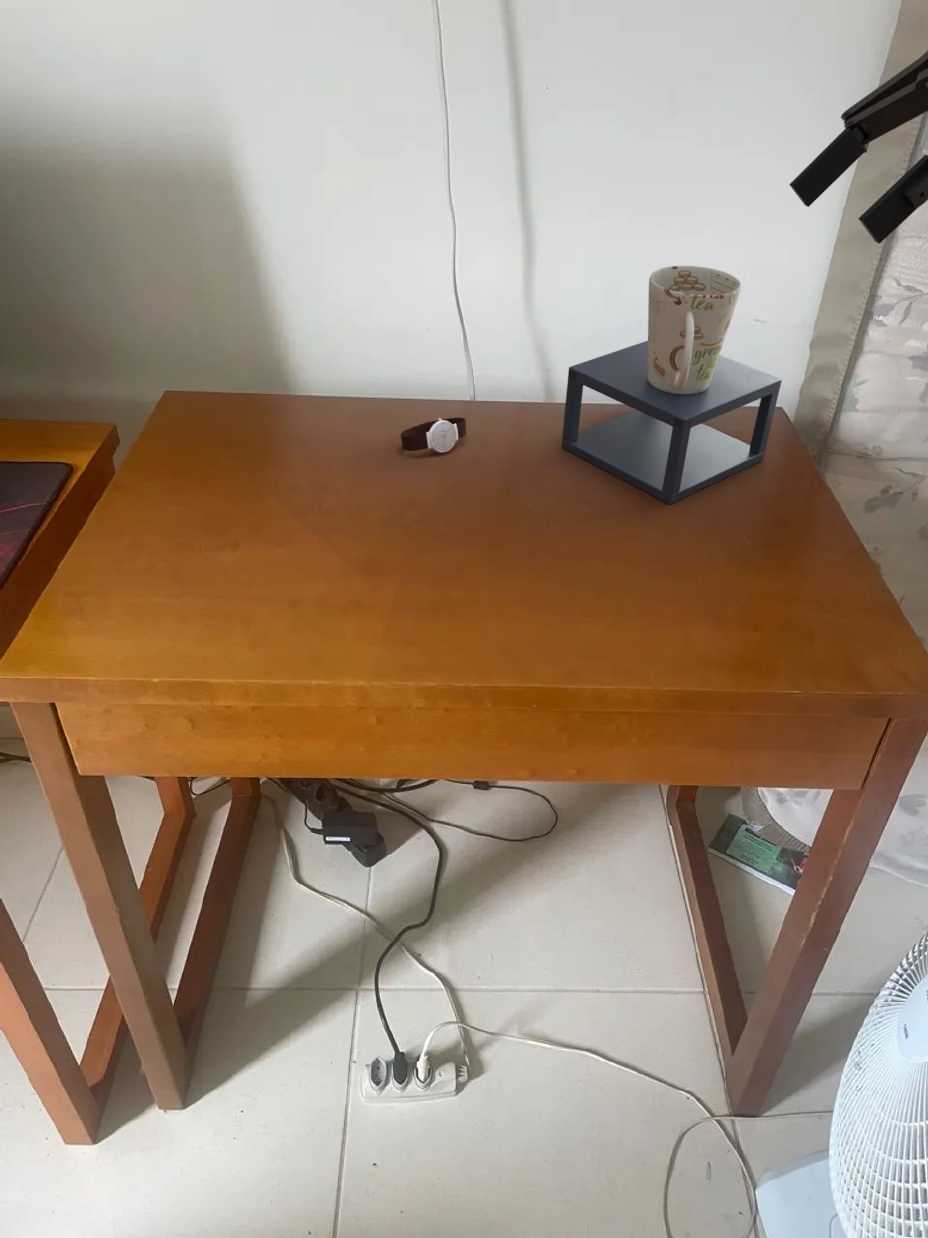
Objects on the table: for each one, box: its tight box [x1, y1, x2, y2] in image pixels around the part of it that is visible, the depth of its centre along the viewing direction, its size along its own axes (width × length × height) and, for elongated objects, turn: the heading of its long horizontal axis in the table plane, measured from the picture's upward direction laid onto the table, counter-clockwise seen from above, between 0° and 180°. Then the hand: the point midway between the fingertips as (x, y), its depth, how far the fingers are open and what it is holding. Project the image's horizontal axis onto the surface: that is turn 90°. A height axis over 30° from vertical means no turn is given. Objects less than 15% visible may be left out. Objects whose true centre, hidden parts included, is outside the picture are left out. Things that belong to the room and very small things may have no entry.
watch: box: [400, 417, 467, 453], centre depth 103 cm, size 8×5×4 cm, turn 126°
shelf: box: [561, 340, 783, 505], centre depth 101 cm, size 15×15×9 cm
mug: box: [647, 265, 742, 394], centre depth 92 cm, size 8×13×10 cm, turn 172°
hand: (831, 212), depth 86 cm, fingers open, 13 cm apart
